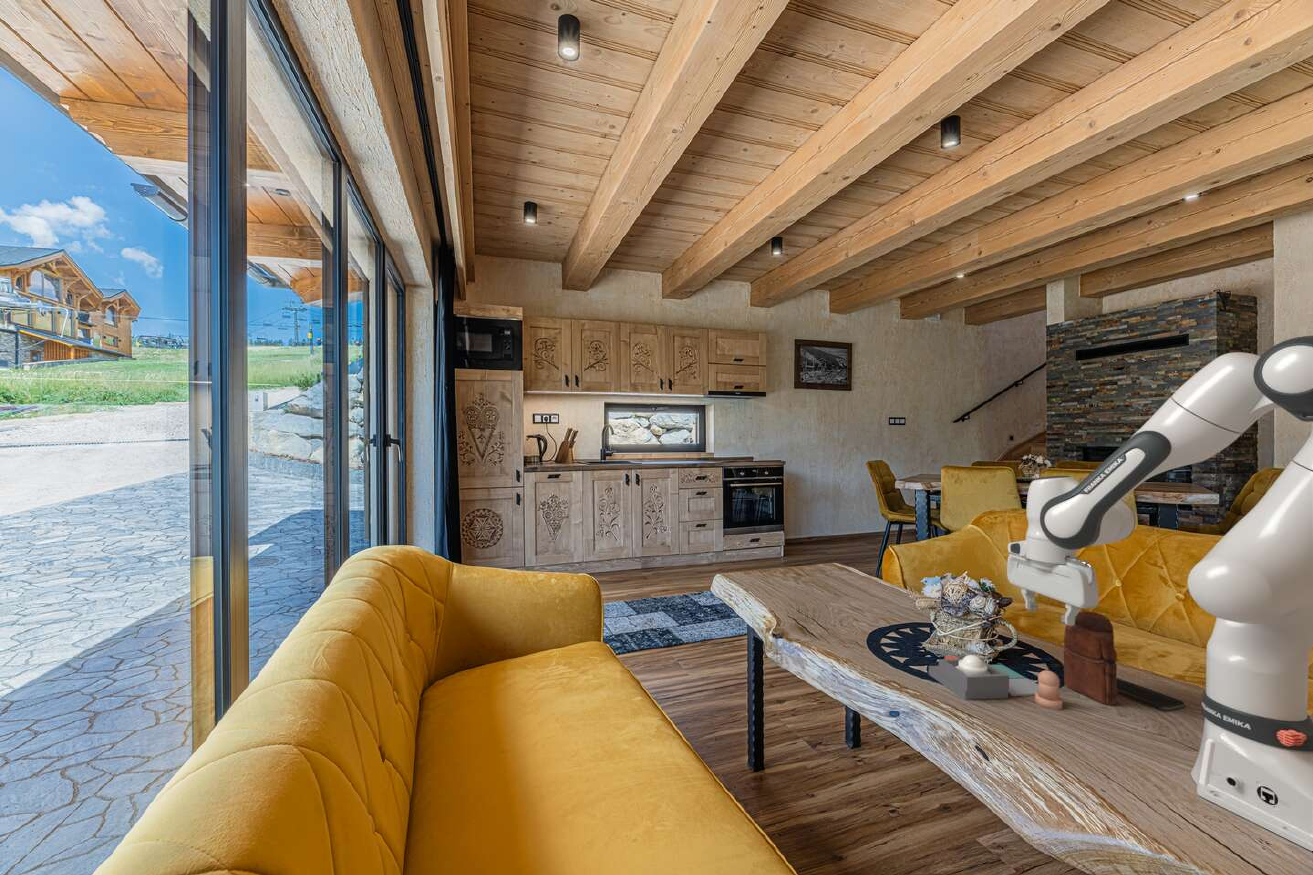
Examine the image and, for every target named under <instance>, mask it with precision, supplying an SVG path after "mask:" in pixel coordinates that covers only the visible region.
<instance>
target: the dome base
mask: <svg viewBox="0 0 1313 875" xmlns="http://www.w3.org/2000/svg"><path fill="white" fill-rule="evenodd" d="M962 659H963V658H958V657H957V656H955V655H945V656H944V658H943V659H941V658H940V659H938V665H929V666H928V676H930V677H931V678H933V679H934V680H936V681H937V682H939V683H940V684H941V685H943V686H945V687H946V688H947V689H949V690H950V691H951V692H953V693H954V694H956V695H957V696H959V697H960V698H962V699H963V700H964V701H966V700H967V701H970V700H971V701H973V700H990V699H991V700H992V699H993V700H997V699H1008V698H1009V694H1008V690H1009V675H1007V674H1005V673H1004V672H1002V671H1000V670H998V669H996V668H995V667H993V666H991V665H992V664H989V663H987V662H986V661H985V660H982V662H983V663H984V664H986V665H987V671H988V672H990V674H986V675H967V674H966V673H964V672H963V671H961V670H959V669H958V668H956V666H959V660H962Z"/></svg>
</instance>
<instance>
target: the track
mask: <svg viewBox="0 0 1313 875" xmlns="http://www.w3.org/2000/svg"><path fill="white" fill-rule="evenodd" d="M990 665H991V666H993V667H995V668H996V669H998V670H1000V671H1002V672H1004V673H1005V674H1007V675H1009V690H1008V696H1011V697H1027V696H1029V697H1030V696H1035V693H1037V692H1038V683H1036V682H1035V681H1032V680H1030V679H1029V678H1027V677H1025V676H1024V675H1022V674H1019V673H1018V672H1017V671H1014V670H1012V669H1010V667H1007V666H1005V665H1003V664H990Z"/></svg>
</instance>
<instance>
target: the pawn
mask: <svg viewBox="0 0 1313 875" xmlns="http://www.w3.org/2000/svg"><path fill="white" fill-rule="evenodd" d="M1037 680H1038V681H1037V682H1038V683H1037V684H1038V692H1037V693H1035V695H1034V703H1035V705H1037V706H1039V707H1041V708H1044V709H1047V710H1053V711H1060V710H1063V702H1064V701H1063V698H1062V697H1060V683H1061V680H1060V678H1059V676H1058V675H1057V674H1056V673H1055V672H1053V671H1051V670H1047V669H1045V670H1042V671H1040V672H1039V673H1038V675H1037Z"/></svg>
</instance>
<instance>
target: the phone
mask: <svg viewBox="0 0 1313 875" xmlns="http://www.w3.org/2000/svg"><path fill="white" fill-rule="evenodd" d="M1116 678H1117V695H1119V696H1122V697H1124V698H1127V699H1130V700H1133V701H1135V702H1138V703H1140V704H1142V705H1145V706H1147V707H1150V708H1153V709H1155V710H1158V711H1161V712H1168V713H1169V712H1172V711H1176V710H1180V709H1185V708H1186V702H1184V701H1182V700H1180V699H1177V698H1175V697H1171V696H1168V695H1165V694H1163V693H1160V692H1157V691H1155V690H1152V689H1150V688H1146V687H1144V686H1141V685H1139V684H1135V683H1133V682H1130V681H1127V680H1125V679H1121V678H1119V677H1117V676H1116Z"/></svg>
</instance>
